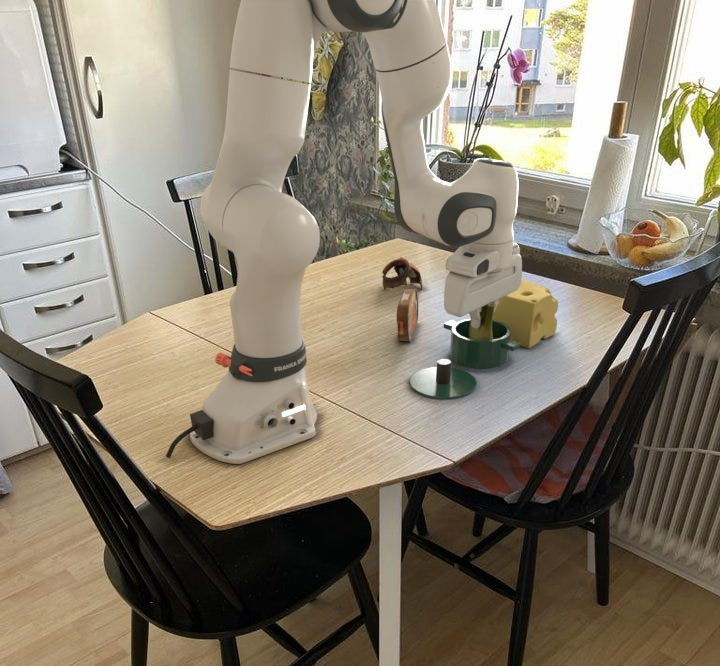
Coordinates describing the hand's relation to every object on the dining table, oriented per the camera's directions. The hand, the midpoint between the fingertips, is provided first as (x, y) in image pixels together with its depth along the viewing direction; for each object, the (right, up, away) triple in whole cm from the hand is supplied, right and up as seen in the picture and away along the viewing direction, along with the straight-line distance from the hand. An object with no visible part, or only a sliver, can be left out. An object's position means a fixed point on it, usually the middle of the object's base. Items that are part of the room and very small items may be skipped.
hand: (481, 324), depth 139 cm
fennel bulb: (0, -6, +4) cm, 7 cm away
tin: (-14, +1, +15) cm, 20 cm away
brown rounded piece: (-13, +17, +38) cm, 44 cm away
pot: (0, -6, +4) cm, 7 cm away
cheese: (+11, 0, +13) cm, 17 cm away
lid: (-8, -12, -5) cm, 16 cm away
